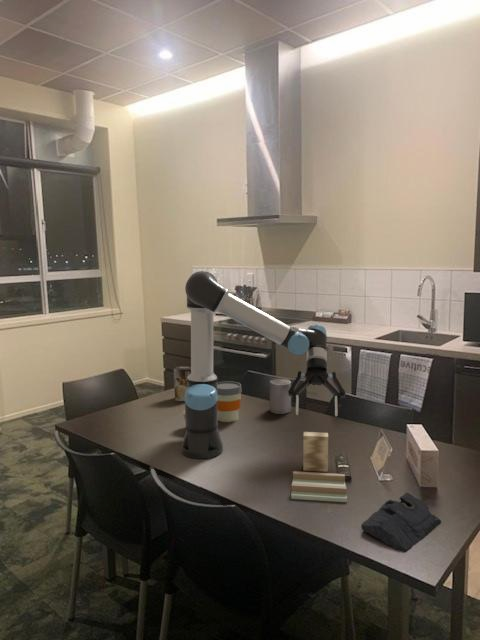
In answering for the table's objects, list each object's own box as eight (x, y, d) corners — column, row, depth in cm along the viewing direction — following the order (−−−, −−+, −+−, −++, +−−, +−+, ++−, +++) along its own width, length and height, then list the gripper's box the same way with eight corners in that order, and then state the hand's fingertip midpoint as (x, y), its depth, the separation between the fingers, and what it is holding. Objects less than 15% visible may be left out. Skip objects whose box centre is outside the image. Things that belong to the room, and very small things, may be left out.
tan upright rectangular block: (303, 470, 161) (303, 435, 160) (303, 465, 165) (303, 431, 163) (327, 471, 160) (328, 436, 158) (327, 467, 164) (327, 432, 162)
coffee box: (195, 397, 243) (194, 366, 241) (192, 401, 237) (191, 369, 235) (178, 397, 245) (176, 365, 243) (174, 401, 239) (173, 369, 236)
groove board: (291, 498, 143) (291, 489, 143) (293, 477, 157) (293, 468, 156) (346, 502, 141) (346, 492, 140) (344, 479, 154) (344, 470, 154)
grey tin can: (270, 406, 227) (270, 375, 225) (291, 407, 226) (291, 376, 224) (269, 414, 218) (268, 381, 215) (291, 414, 216) (290, 381, 214)
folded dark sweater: (350, 531, 127) (350, 514, 126) (393, 500, 142) (393, 485, 141) (405, 557, 116) (406, 538, 115) (445, 520, 131) (446, 504, 130)
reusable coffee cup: (247, 416, 214) (247, 383, 212) (231, 425, 204) (231, 390, 202) (224, 412, 221) (223, 379, 219) (207, 420, 211) (206, 386, 208)
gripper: (350, 367, 184) (352, 419, 172) (283, 366, 188) (281, 417, 175) (351, 357, 178) (353, 410, 166) (282, 356, 182) (280, 407, 169)
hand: (316, 413), depth 170 cm, fingers open, 13 cm apart
